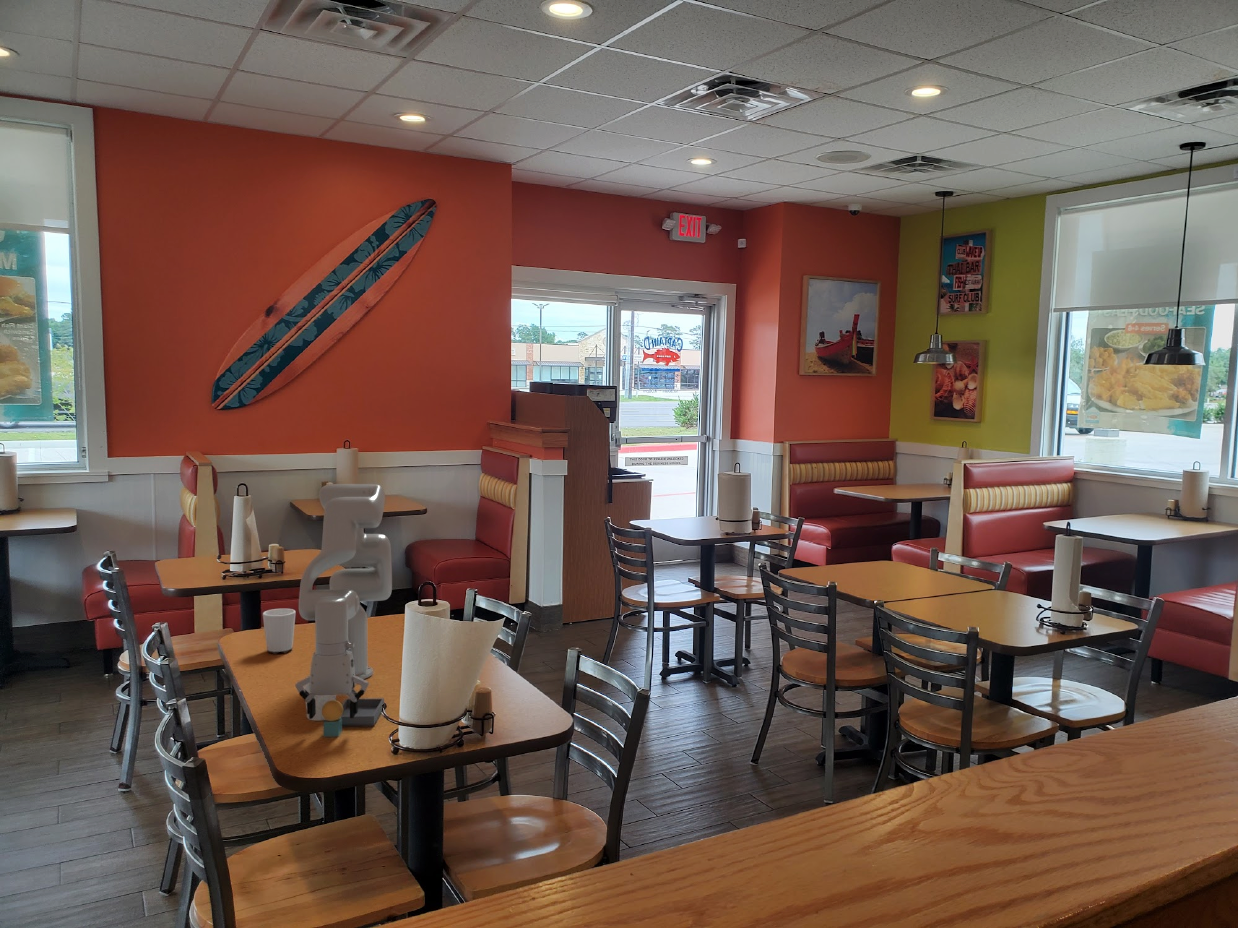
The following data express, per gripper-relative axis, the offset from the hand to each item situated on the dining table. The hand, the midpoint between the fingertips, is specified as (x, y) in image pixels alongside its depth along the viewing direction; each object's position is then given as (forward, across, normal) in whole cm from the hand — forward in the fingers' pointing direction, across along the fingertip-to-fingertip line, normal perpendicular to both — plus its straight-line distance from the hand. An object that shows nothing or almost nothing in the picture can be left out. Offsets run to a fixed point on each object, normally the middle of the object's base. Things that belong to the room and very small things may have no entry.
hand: (332, 716), depth 214 cm
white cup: (+4, +6, -12) cm, 14 cm away
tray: (+4, -4, -11) cm, 13 cm away
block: (+4, 0, 0) cm, 4 cm away
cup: (+4, +34, -70) cm, 78 cm away
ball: (-2, 0, 0) cm, 2 cm away
